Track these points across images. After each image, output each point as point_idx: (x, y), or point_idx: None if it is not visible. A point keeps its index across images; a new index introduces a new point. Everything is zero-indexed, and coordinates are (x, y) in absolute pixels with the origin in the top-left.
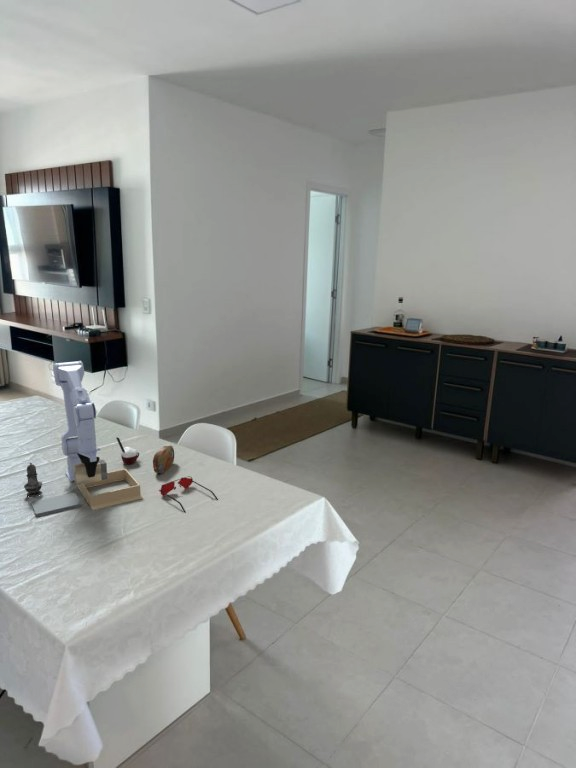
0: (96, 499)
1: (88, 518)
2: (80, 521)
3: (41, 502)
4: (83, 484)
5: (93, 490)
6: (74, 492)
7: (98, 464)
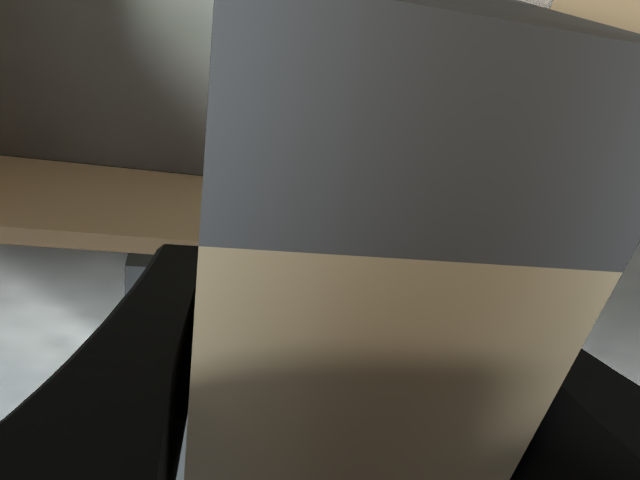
0: None
1: (619, 282)
2: (605, 330)
3: (180, 477)
4: (175, 244)
5: (114, 52)
6: (127, 267)
7: (584, 324)
